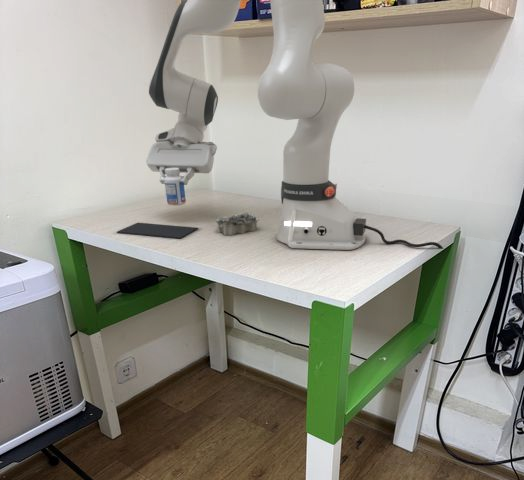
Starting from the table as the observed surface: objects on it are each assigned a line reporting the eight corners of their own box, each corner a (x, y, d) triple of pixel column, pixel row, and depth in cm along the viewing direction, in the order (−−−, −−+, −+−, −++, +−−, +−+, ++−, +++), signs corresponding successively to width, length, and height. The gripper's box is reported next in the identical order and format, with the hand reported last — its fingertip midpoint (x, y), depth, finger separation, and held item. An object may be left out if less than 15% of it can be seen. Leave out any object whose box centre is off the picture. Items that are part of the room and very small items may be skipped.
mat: (198, 229, 134) (198, 227, 134) (180, 238, 126) (180, 237, 126) (137, 223, 140) (137, 222, 140) (117, 232, 132) (117, 231, 132)
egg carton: (226, 236, 127) (225, 221, 125) (214, 230, 132) (212, 215, 130) (260, 230, 131) (260, 215, 129) (247, 224, 137) (246, 209, 135)
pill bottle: (181, 201, 142) (177, 166, 138) (189, 204, 138) (185, 168, 134) (164, 203, 140) (159, 168, 135) (171, 206, 136) (167, 170, 131)
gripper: (222, 150, 139) (209, 191, 135) (161, 149, 145) (148, 188, 142) (214, 134, 133) (201, 177, 130) (151, 134, 139) (137, 175, 136)
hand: (172, 183), depth 136 cm, fingers closed on pill bottle, 5 cm apart
